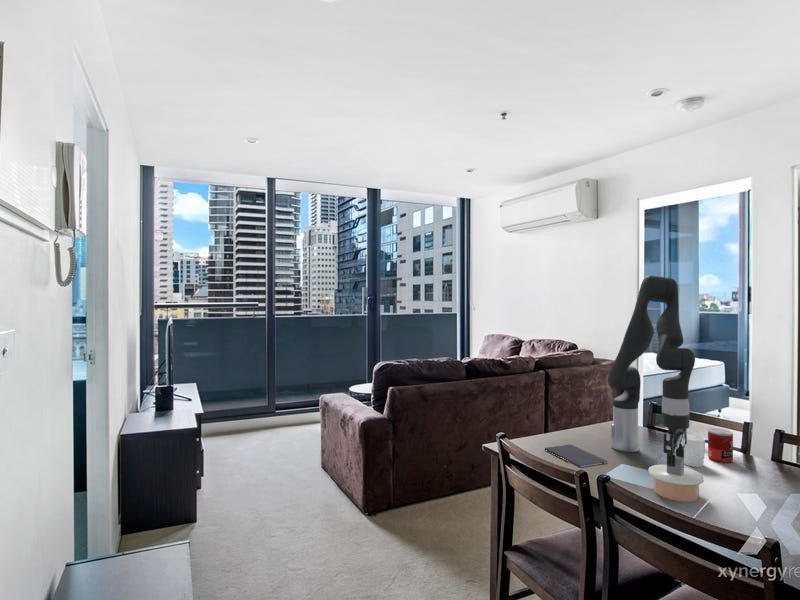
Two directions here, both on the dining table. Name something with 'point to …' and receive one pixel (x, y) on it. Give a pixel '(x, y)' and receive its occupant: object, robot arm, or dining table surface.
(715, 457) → the canned food
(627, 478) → the mat
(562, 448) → the notebook
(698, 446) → the white cup
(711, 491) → the dining table surface
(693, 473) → the lid
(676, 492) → the bowl
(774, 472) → the dining table surface
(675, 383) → the robot arm
